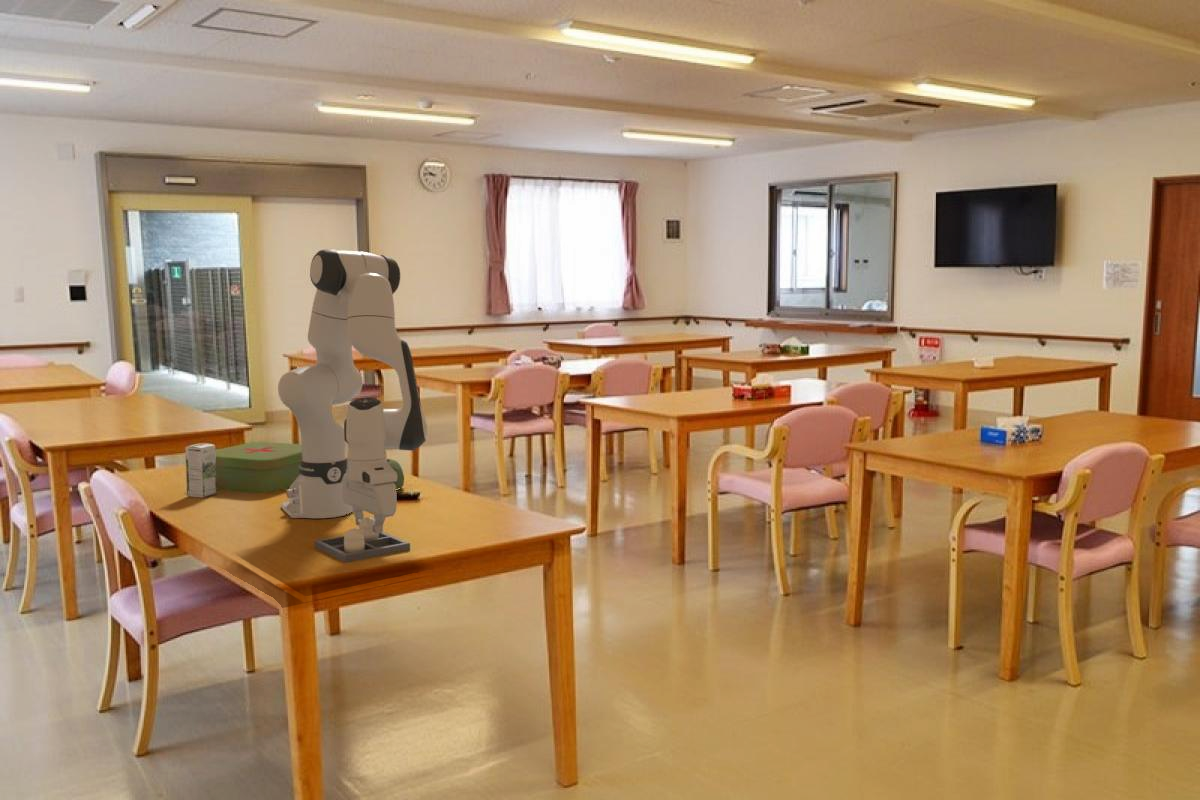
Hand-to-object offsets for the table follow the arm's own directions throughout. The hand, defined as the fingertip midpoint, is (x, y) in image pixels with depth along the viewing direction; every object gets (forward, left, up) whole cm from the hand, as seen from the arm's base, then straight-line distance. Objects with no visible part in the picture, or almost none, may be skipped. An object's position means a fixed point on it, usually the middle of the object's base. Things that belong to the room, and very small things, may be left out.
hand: (369, 529), depth 231 cm
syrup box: (-79, -12, -4) cm, 80 cm away
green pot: (-52, +31, -4) cm, 61 cm away
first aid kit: (-86, +8, -5) cm, 87 cm away
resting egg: (+7, -7, -3) cm, 11 cm away
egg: (0, 0, -3) cm, 3 cm away
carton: (+4, -4, -4) cm, 7 cm away
